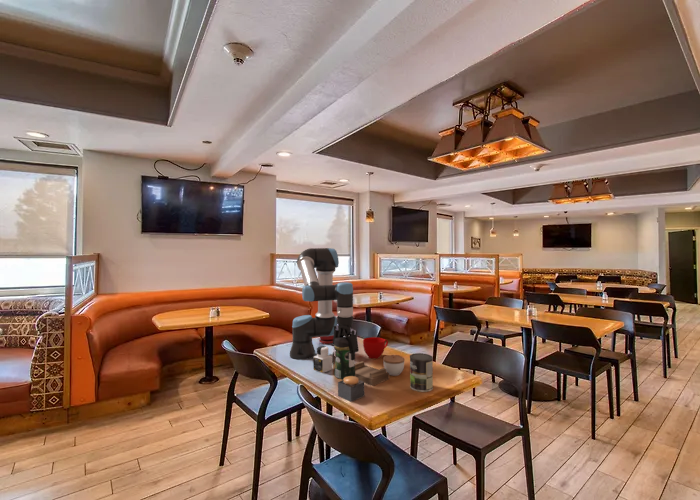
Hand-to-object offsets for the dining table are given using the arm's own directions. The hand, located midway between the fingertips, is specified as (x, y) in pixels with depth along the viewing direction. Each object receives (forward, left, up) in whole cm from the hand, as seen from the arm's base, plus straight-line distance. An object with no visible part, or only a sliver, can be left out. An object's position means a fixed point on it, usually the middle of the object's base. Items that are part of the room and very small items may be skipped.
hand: (345, 364), depth 157 cm
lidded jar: (+7, +27, -10) cm, 29 cm away
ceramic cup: (-18, +42, -10) cm, 46 cm away
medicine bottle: (-23, +5, -10) cm, 25 cm away
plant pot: (-63, +42, -10) cm, 76 cm away
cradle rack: (+1, +13, -9) cm, 16 cm away
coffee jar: (0, 0, -6) cm, 6 cm away
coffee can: (+27, +22, -10) cm, 36 cm away
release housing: (+11, -7, -9) cm, 16 cm away
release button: (+11, -7, -9) cm, 16 cm away
